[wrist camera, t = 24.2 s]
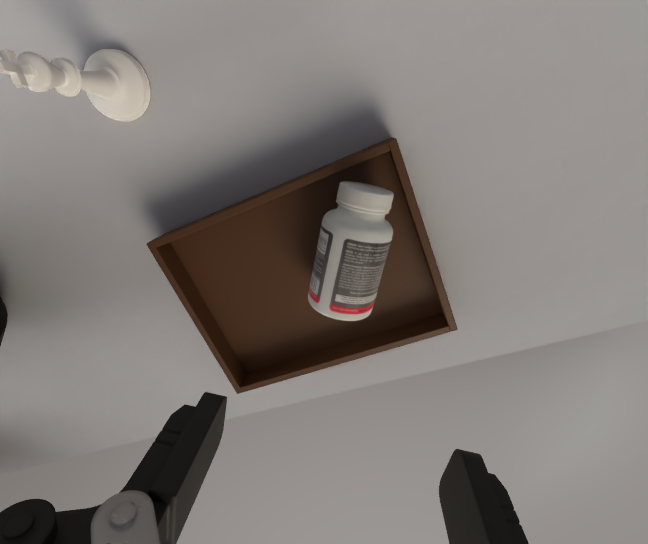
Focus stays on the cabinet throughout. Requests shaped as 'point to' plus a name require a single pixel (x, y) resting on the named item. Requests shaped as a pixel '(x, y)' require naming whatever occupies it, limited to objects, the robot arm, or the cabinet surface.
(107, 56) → the chess piece
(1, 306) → the table lamp
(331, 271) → the pill bottle
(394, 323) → the tray
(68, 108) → the cabinet surface
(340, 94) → the cabinet surface
